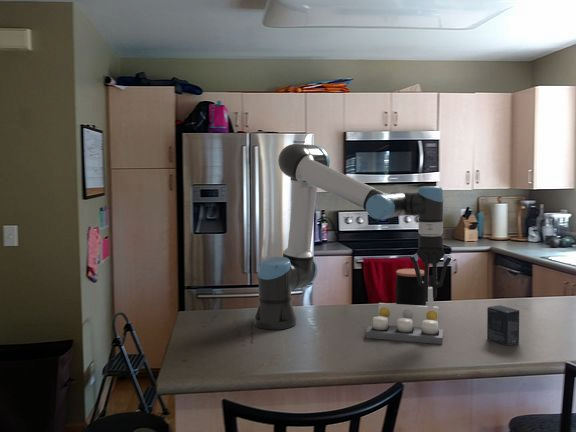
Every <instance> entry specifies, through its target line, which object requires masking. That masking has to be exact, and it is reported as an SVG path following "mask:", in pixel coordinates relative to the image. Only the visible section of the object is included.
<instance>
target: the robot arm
mask: <svg viewBox="0 0 576 432" xmlns="http://www.w3.org/2000/svg"><path fill="white" fill-rule="evenodd" d="M330 161H331V160H330V156H329V155H328V153H327V152H326V150H325V149H324V148H323V147H322V146H319V145H315V144H314V145H313V144H299V143H293V144H292V143H291V144H289V145H286V146H285V147H283V149H281V151H280V153H279V155H278V159H277V162H278V167H279V169H280V171H281V172H282V173H283V174H284V175H285V176H287V177H289V178H290V182H291V183H292V184H293V195H292V204H291V214H290V223H289V232H288V240H287V241H288V243H287V248H285V249H284V250H283V251H282V256H274V257H269V258H265V259H262V260H261V261H260V262H259V264H258V270H257V279H258V280H257V281H258V282H257V283H258V284H257V285H258V305H257V309H256V311H255V315H254V319H253V320H254V326H255V327H256V328H259V329H263V330H269V331H270V330H274V331H275V330H277V331H278V330H284V329H285V330H286V329H290V328H292V327H294V326H296V325H297V316H296V313H295V310H294V307H293V304H292V291H294V290H298V289H302V288H304V287H307V286H309V285H310V284H312V283H314V281H315V279H316V277H317V274H318V265H317V263H316V261H315V259H314V256H315V254H314V253H313V252H312V250H311V246H312V237H313V236H312V235H313V228H314V219H315V211H316V210H315V209H316V202H317V194H318V192H317V191H318V189H320V190H322V191H325V192H327V193H329V194H331V195H333V196H335V197H336V198H339V199H341V200H343V201H345V202H347V203H348V204H351V205H353V206H355V207H357V208H360V209H362V210H363V211H366V212H367V214H368V215H369V217H371V218H372V219H375V220H381V221H382V220H386V219H391V218H395V217H400V216H401V217H402V216H403V217H404V216H411V217H412V216H414V217H418V221H417V222H418V223H417V225H418V228H417V229H418V230H417V231H418V234H419V236H418V240H417V241H418V242H417V243H418V246H417V247H418V248H417V251H416V253H415V254H411V256H410V257H409V260H410V261H411V263H412V264H413V269H415V273H416V277H417V281H418V284H419V286H422V287H424V297H425V298H426V299H427V306H428V309H433V306H434V299H437V296H438V288H442V287H443V284H444V281H445V277H446V274H447V271H448V270H447V269H448V265H449V264H450V263H451V261H452V257H451V256H449V255H447V254H446V253H445V251H444V236H443V235H442V234H443V233H444V196H443V195H444V194H443V188H442V187H441V186H438V185H437V186H435V185H434V186H433V185H429V186H427V185H426V186H424V185H423V186H419V187H418V189H417V190H418V191H417V192H396V191H395V192H394V191H392V192H384V191H381V190H379V189H377V188H375V187H373V186H370V185H368V184H366V183H365V182H361V181H359V180H358V179H355V178H354V177H350V176H349V175H346V174H344V173H342V172H340V171H338V170H336V169H334V168H332V167H330V163H331V162H330ZM442 258H443V260H442V261H443V266H442V269H441V274H440V278H439V281H438V263H439V262H440V261H441V259H442ZM419 259H420V260H421V262H422V263H423V268H424V269H423V270H424V282H423V281H422V277H421V273H420V270H421V269H420V266H419V263H418V260H419ZM429 265H432V286H430V285H429V284H430V283H429V280H430V279H429V278H430V277H429V275H430V274H429V270H430V267H429Z"/></svg>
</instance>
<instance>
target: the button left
mask: <svg viewBox="0 0 576 432" xmlns="http://www.w3.org/2000/svg"><path fill="white" fill-rule="evenodd" d="M372 324H373V328H374V329H377V330H385V329H387V328H388V318H387V317H383V316H379V315H378V316H373V318H372Z"/></svg>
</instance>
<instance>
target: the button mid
mask: <svg viewBox="0 0 576 432" xmlns="http://www.w3.org/2000/svg"><path fill="white" fill-rule="evenodd" d="M397 330H398V331H401V332H410V331H412V320H411V319H408V318H399V319H397Z"/></svg>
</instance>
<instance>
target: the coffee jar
mask: <svg viewBox="0 0 576 432" xmlns="http://www.w3.org/2000/svg"><path fill="white" fill-rule="evenodd" d="M395 273H396V278H395V296H396V297H395V304H403V305H419V306H427V298H425V297H424V287H422V286H419V284H418V281H417V277H416V273H415V269H414V268H401V269H397V270H395ZM420 273H421V277H422V281H423V282H424V269H420Z"/></svg>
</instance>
